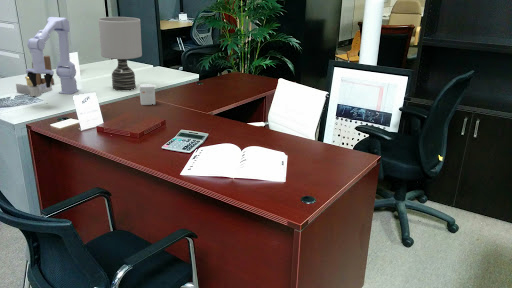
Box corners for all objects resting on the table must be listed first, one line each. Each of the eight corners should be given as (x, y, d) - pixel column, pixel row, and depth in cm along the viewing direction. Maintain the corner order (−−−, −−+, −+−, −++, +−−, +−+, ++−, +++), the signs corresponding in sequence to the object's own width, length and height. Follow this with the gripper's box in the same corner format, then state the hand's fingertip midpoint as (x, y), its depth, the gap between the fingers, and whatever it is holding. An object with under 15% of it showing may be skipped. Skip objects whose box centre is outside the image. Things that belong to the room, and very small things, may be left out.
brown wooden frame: (36, 83, 281) (32, 55, 275) (54, 83, 283) (50, 55, 277) (34, 85, 278) (30, 56, 271) (52, 85, 280) (49, 56, 273)
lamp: (105, 83, 289) (99, 16, 273) (143, 83, 295) (139, 17, 279) (102, 93, 268) (96, 21, 252) (143, 92, 274) (140, 22, 258)
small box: (154, 101, 257) (153, 84, 253) (155, 104, 252) (154, 86, 248) (140, 102, 255) (139, 84, 251) (141, 105, 250) (140, 87, 246)
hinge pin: (29, 88, 271) (27, 76, 268) (35, 88, 270) (33, 76, 268) (25, 89, 267) (23, 77, 264) (31, 90, 267) (30, 78, 264)
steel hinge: (26, 88, 270) (24, 80, 269) (52, 89, 270) (51, 81, 268) (11, 95, 256) (9, 86, 254) (38, 96, 255) (37, 88, 253)
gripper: (20, 62, 230) (24, 87, 235) (47, 64, 229) (50, 89, 234) (28, 59, 237) (32, 84, 242) (54, 61, 236) (57, 86, 241)
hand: (41, 86), depth 238 cm, fingers open, 7 cm apart
